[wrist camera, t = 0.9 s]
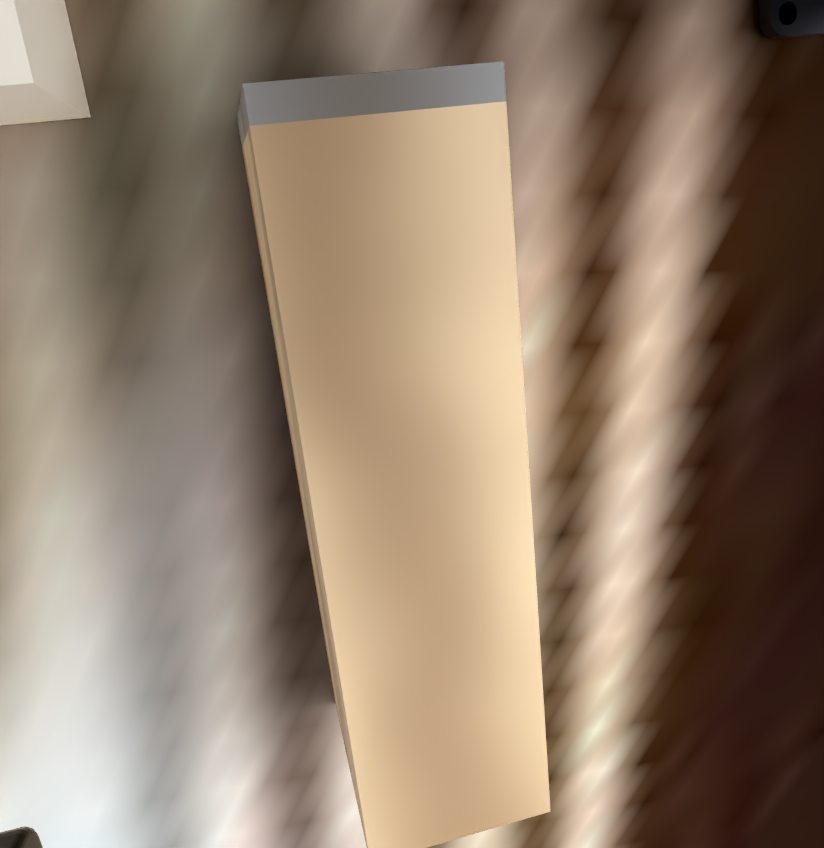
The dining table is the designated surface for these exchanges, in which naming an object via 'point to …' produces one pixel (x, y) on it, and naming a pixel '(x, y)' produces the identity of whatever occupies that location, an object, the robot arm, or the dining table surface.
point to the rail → (408, 431)
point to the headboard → (38, 64)
